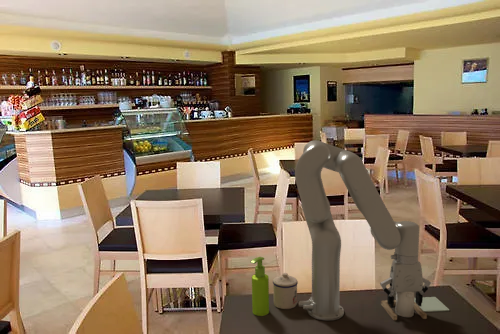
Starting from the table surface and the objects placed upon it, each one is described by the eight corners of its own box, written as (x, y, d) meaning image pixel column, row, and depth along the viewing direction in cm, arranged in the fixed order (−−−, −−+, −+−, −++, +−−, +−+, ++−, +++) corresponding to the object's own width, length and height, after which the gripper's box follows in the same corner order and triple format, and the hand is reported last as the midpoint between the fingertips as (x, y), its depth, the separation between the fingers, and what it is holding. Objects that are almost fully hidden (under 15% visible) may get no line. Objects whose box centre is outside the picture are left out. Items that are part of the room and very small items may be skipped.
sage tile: (421, 312, 144) (421, 311, 144) (408, 299, 154) (409, 297, 154) (449, 310, 144) (449, 309, 144) (435, 297, 154) (435, 296, 154)
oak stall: (393, 320, 139) (393, 316, 139) (381, 304, 150) (381, 300, 150) (426, 318, 139) (426, 314, 139) (412, 303, 150) (412, 299, 150)
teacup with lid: (298, 309, 147) (298, 278, 146) (273, 309, 148) (272, 278, 146) (296, 294, 159) (296, 265, 158) (272, 294, 160) (272, 265, 158)
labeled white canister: (400, 318, 140) (401, 293, 138) (390, 306, 148) (391, 283, 147) (417, 318, 140) (419, 292, 139) (407, 306, 148) (408, 282, 147)
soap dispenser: (247, 313, 146) (245, 259, 143) (260, 306, 151) (259, 253, 148) (259, 318, 142) (258, 263, 139) (272, 311, 147) (271, 257, 144)
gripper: (385, 263, 137) (384, 311, 139) (436, 260, 137) (434, 309, 140) (377, 255, 144) (376, 301, 146) (425, 253, 145) (424, 299, 147)
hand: (404, 305), depth 143 cm, fingers open, 9 cm apart
